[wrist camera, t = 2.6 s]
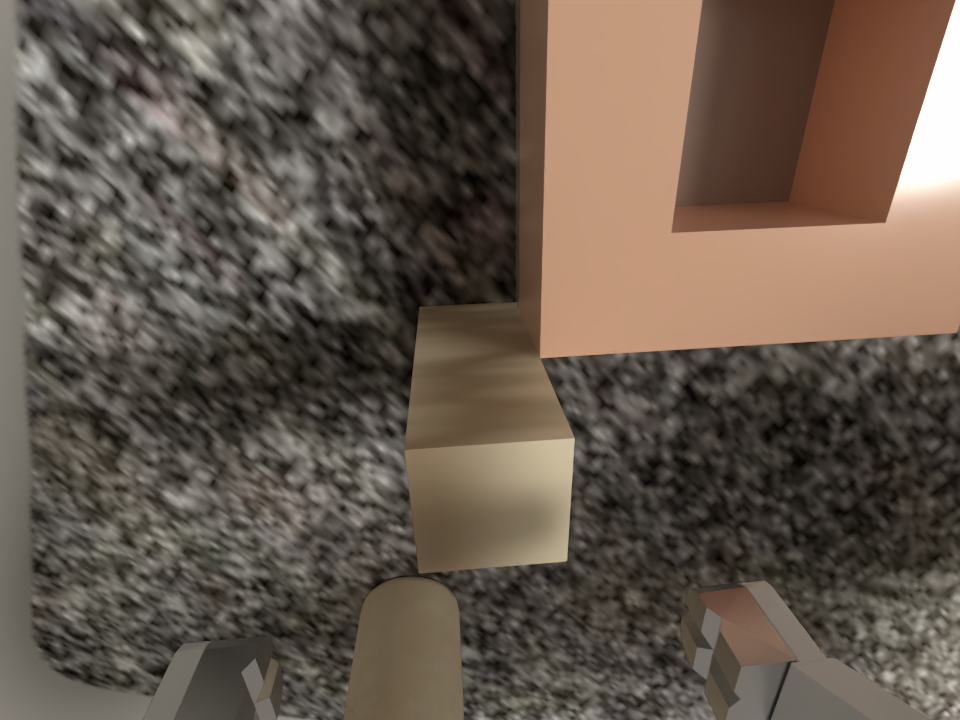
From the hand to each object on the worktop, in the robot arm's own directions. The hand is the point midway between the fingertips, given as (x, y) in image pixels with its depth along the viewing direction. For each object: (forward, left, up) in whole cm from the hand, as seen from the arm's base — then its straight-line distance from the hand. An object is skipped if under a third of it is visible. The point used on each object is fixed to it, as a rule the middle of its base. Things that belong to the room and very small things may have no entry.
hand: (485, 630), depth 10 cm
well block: (-9, -9, -13) cm, 19 cm away
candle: (+4, +16, -13) cm, 21 cm away
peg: (0, 0, -13) cm, 13 cm away
